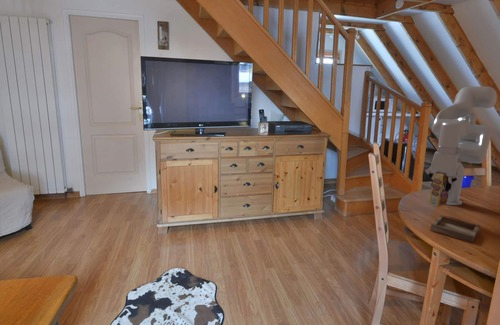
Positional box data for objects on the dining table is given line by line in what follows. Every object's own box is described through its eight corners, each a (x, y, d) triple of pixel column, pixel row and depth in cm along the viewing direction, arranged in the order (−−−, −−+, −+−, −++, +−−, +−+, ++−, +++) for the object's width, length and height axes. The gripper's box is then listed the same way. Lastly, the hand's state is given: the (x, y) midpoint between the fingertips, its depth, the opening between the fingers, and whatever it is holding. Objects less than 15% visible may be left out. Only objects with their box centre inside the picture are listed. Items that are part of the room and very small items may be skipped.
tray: (439, 220, 137) (440, 215, 137) (478, 231, 128) (480, 225, 127) (430, 230, 127) (431, 224, 127) (472, 242, 118) (473, 236, 117)
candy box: (438, 208, 138) (443, 175, 134) (428, 205, 142) (433, 173, 138) (447, 203, 143) (452, 171, 139) (438, 200, 146) (442, 169, 143)
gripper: (472, 151, 133) (464, 191, 137) (428, 146, 144) (422, 183, 149) (468, 154, 127) (460, 196, 132) (423, 148, 139) (417, 187, 144)
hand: (440, 189), depth 140 cm, fingers closed on candy box, 4 cm apart
